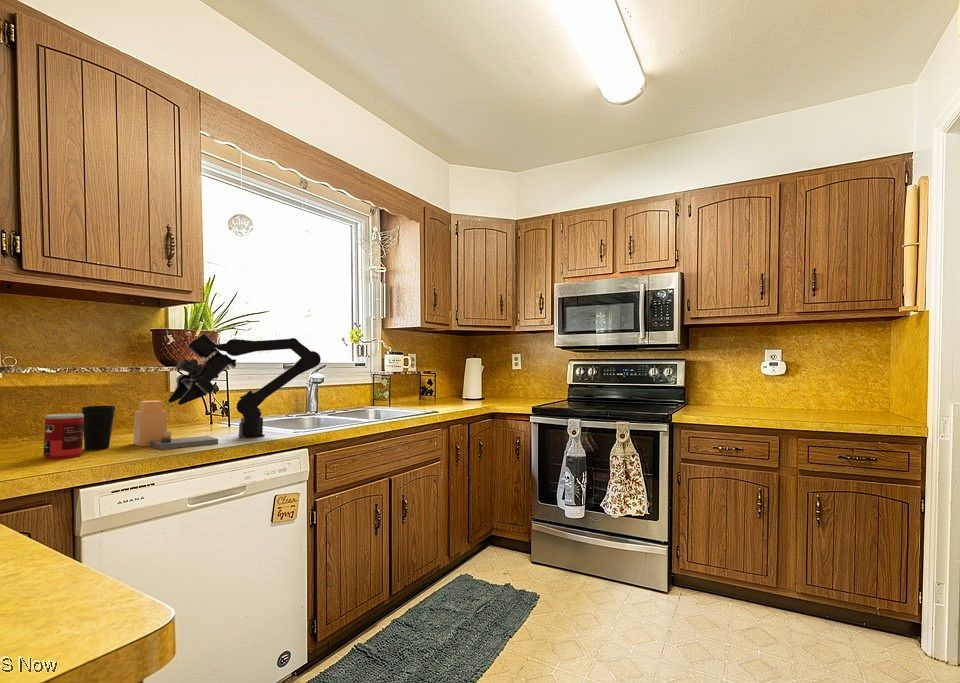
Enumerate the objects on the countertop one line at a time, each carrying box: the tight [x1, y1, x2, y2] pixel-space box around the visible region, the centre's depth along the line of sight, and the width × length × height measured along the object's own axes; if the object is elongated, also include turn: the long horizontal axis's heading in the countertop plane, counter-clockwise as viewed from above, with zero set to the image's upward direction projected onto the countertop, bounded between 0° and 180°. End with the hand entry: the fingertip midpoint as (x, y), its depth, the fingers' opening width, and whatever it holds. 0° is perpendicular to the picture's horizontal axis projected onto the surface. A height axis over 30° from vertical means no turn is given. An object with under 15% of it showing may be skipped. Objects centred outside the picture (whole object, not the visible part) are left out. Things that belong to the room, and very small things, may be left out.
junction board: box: [149, 430, 219, 451], centre depth 154 cm, size 16×9×4 cm, turn 138°
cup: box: [81, 405, 116, 451], centre depth 145 cm, size 8×8×12 cm
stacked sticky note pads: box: [133, 399, 168, 447], centre depth 154 cm, size 7×7×13 cm
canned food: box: [42, 412, 84, 460], centre depth 133 cm, size 8×8×11 cm
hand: (173, 402), depth 159 cm, fingers open, 9 cm apart
